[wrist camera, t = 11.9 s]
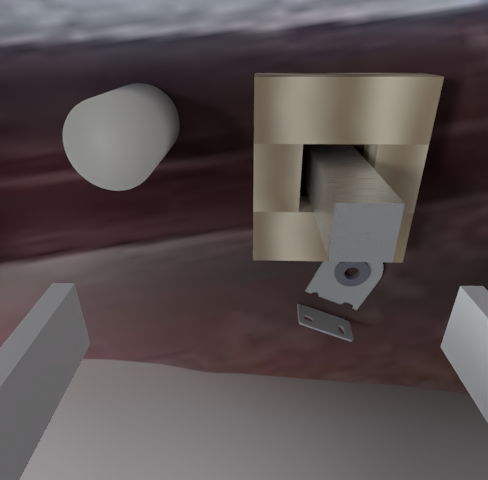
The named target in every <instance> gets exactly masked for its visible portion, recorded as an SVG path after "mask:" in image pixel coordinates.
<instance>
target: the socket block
mask: <svg viewBox="0 0 488 480" xmlns="http://www.w3.org/2000/svg"><path fill="white" fill-rule="evenodd" d="M443 80H444V76H438V75H433V74H428V73H255V76H254V188H253V260H271V261H328V257H327V254H326V251H325V248H324V245H323V241H322V238H321V235H320V232H319V228H318V225H317V222H316V219H315V216H314V212H313V209H312V206H311V203H310V200H309V196H300V185H301V170H302V155H303V144H364V151H363V157H364V159H365V160H366V161H367V162H368V163H369V164H370V165H371V166H372V167H373V169H374V170H375V171H376V172H377V173H378V174H379V175H380V176H381V178H382V179H383V180H384V181H385V182H386V183H387V184H388V185H389V186H390V188H391V189H392V190H393V191H394V192H395V193H396V194H397V195H398V197H399V198H400V199H401V200H402V201H403V202H404V203H405V205H404V210H403V215H402V220H401V225H400V229H399V234H398V239H397V244H396V248H395V253H394V258H393V262H397V263H403V259H404V254H405V250H406V245H407V241H408V236H409V232H410V227H411V223H412V219H413V214H414V210H415V205H416V201H417V196H418V192H419V187H420V183H421V178H422V174H423V169H424V165H425V160H426V156H427V151H428V147H429V143H430V138H431V134H432V129H433V125H434V120H435V116H436V111H437V107H438V102H439V98H440V93H441V89H442V84H443Z"/></svg>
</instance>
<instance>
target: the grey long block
mask: <svg viewBox="0 0 488 480" xmlns="http://www.w3.org/2000/svg"><path fill="white" fill-rule="evenodd" d="M305 187H306V190H307V193H308V196H309V200H310V203H311V206H312V209H313V212H314V216H315V219H316V222H317V225H318V228H319V232H320V235H321V238H322V241H323V245H324V248H325V251H326V254H327V257H328V261H329V262H392V263H393V258H394V253H395V248H396V244H397V239H398V234H399V229H400V225H401V220H402V215H403V210H404V205H405V203H404V202H403V201H402V200H401V199H400V198H399V197H398V195H397V194H396V193H395V192H394V191H393V190H392V189H391V188H390V186H389V185H388V184H387V183H386V182H385V181H384V180H383V179H382V178H381V176H380V175H379V174H378V173H377V172H376V171H375V170H374V169H373V167H372V166H371V165H370V164H369V163H368V162H367V161H366V160H365V159H364V157H363V156H362V155H361V154H360V153H359V152H358V151H357V150H356V149H355V147H354V146H353V145H309V146H308V159H307V173H306V186H305Z"/></svg>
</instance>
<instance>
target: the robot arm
mask: <svg viewBox="0 0 488 480" xmlns="http://www.w3.org/2000/svg"><path fill="white" fill-rule="evenodd" d="M89 345H90V341H89V337H88V333H87V329H86V325H85V321H84V318H83V314H82V310H81V306H80V302H79V298H78V294H77V290H76V286H75V283H52V284H51V286H50V287H49V288H48V289H47V291H46V292H45V293H44V294H43V296H42V297H41V298H40V299H39V301H38V302H37V303H36V304H35V305H34V307H33V308H32V309H31V310H30V312H29V313H28V314H27V315H26V317H25V318H24V319H23V320H22V322H21V323H20V324H19V325H18V327H17V328H16V329H15V330H14V331H13V333H12V334H11V335H10V336H9V338H8V339H7V340H6V341H5V343H4V344H3V345H2V346H1V348H0V480H19V479H20V477H21V475H22V473H23V471H24V469H25V468H26V466H27V464H28V462H29V460H30V458H31V456H32V454H33V452H34V450H35V448H36V447H37V445H38V443H39V441H40V439H41V437H42V435H43V433H44V431H45V429H46V427H47V426H48V424H49V422H50V420H51V418H52V416H53V414H54V412H55V410H56V408H57V406H58V405H59V403H60V401H61V399H62V397H63V395H64V393H65V391H66V389H67V387H68V385H69V384H70V382H71V380H72V378H73V376H74V374H75V372H76V370H77V368H78V366H79V364H80V362H81V361H82V359H83V357H84V355H85V353H86V351H87V349H88V347H89ZM441 349H442V350H443V352H444V354H445V355H446V357H447V358H448V360H449V362H450V363H451V365H452V366H453V368H454V370H455V371H456V373H457V374H458V376H459V378H460V379H461V381H462V382H463V384H464V386H465V387H466V389H467V391H468V392H469V394H470V395H471V397H472V399H473V400H474V402H475V403H476V405H477V407H478V408H479V410H480V411H481V413H482V415H483V416H484V418H485V419H486V421H487V423H488V291H487V290H486V289H485V288H484V286H460V288H459V291H458V294H457V298H456V301H455V304H454V307H453V310H452V313H451V316H450V319H449V322H448V325H447V328H446V331H445V334H444V337H443V340H442V343H441Z"/></svg>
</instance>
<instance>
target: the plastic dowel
mask: <svg viewBox="0 0 488 480" xmlns="http://www.w3.org/2000/svg"><path fill="white" fill-rule="evenodd" d="M179 130H180V119H179V115H178V111H177V109H176V107H175V105H174V103H173V101H172V100H171V99H170V98H169V96H168V95H167V94H166V93H164V92H163V91H162V90H160V89H159V88H157V87H155V86H153V85H149V84H145V83H133V84H129V85H126V86H123V87H120V88H118V89H115V90H112V91H109V92H106V93H103V94H100V95H97V96H95V97H92V98H89V99H86V100H84V101H82V102H80V103H79V104H77V105H76V106H75V107H74V108H73V109H72V110H71V111H70V113H69V114H68V116H67V118H66V120H65V123H64V127H63V145H64V149H65V152H66V155H67V157H68V159H69V161H70V163H71V164H72V166H73V167H74V168H75V170H76V171H77V172H78V173H79V174H80V175H81V176H82V177H83V178H85V179H86V180H87V181H89V182H90V183H92V184H94V185H96V186H98V187H101V188H104V189H107V190H113V191H122V190H128V189H131V188H134V187H136V186H138V185H140V184H141V183H143V182H144V181H145V180H146V179H147V178H148V177H149V176H150V174H151V173H152V172H153V170H154V169H155V168H156V167H157V165H158V164H159V163H160V162H161V160H162V159H163V158H164V156H165V155H166V154H167V153H168V151H169V150H170V149H171V148H172V146H173V145H174V143H175V142H176V140H177V138H178V135H179Z"/></svg>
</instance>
